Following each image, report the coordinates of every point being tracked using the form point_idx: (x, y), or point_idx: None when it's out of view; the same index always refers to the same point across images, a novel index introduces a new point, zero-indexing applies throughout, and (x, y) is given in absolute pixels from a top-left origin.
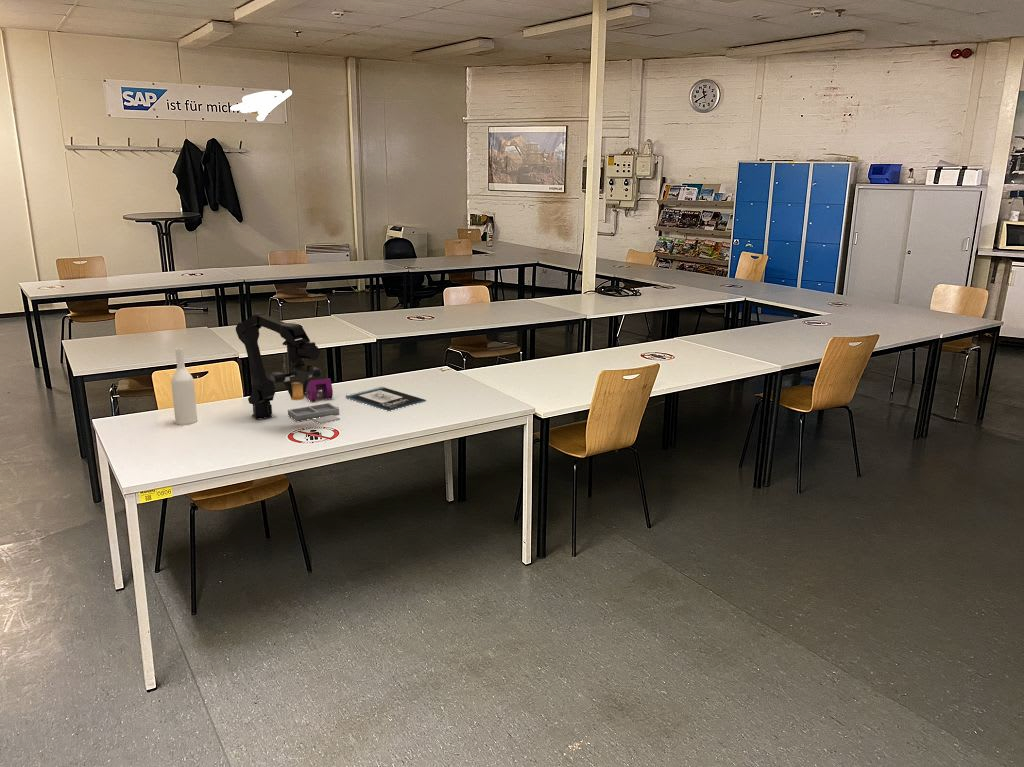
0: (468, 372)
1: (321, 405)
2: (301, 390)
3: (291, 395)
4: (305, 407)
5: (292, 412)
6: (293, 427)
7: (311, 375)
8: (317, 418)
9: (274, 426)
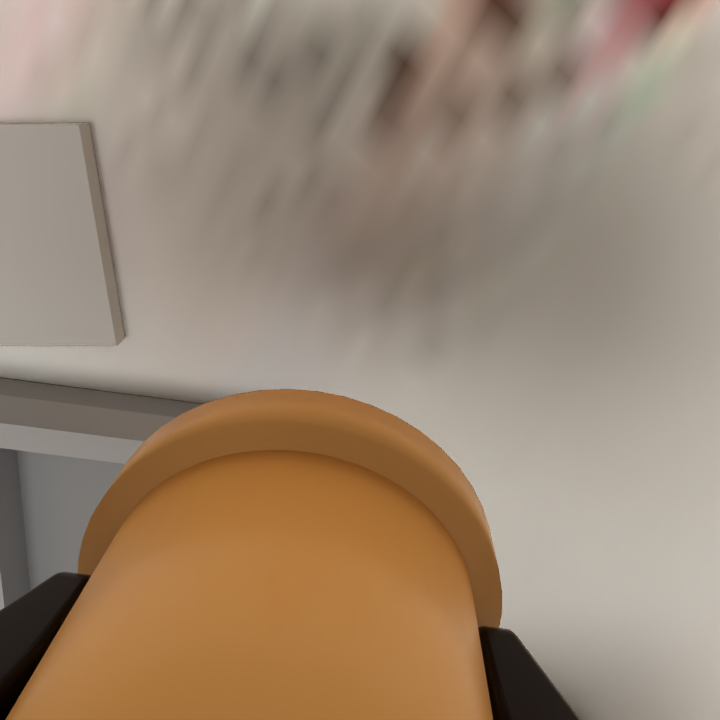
0: None
1: None
2: (120, 662)
3: (524, 660)
4: None
5: None
6: (465, 253)
7: None
8: (44, 331)
9: (613, 446)
